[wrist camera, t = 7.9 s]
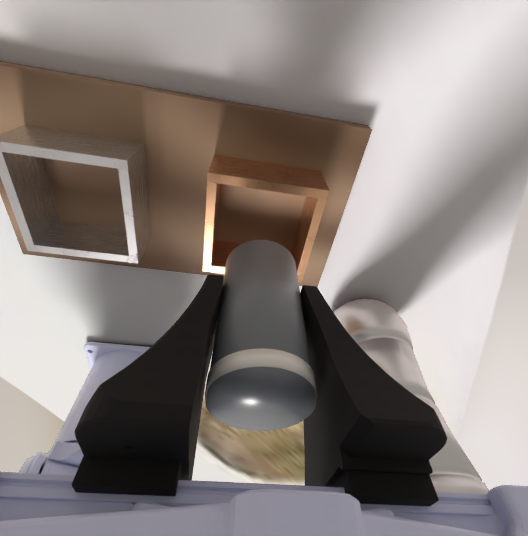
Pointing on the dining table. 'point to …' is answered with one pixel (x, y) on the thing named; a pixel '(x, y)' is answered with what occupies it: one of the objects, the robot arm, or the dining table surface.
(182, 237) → the walnut board
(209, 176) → the copper collar
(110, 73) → the dining table surface
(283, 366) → the grey domed cylinder
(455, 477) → the plastic bottle
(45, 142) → the steel collar
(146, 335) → the dining table surface
